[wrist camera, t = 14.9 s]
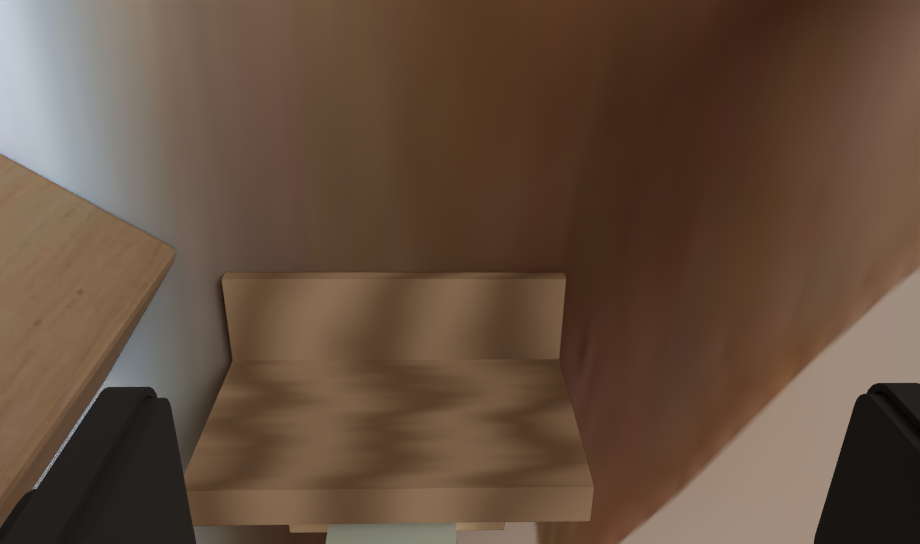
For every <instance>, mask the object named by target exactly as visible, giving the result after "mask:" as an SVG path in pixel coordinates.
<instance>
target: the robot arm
mask: <svg viewBox="0 0 920 544" xmlns="http://www.w3.org/2000/svg"><path fill="white" fill-rule="evenodd" d="M0 544H196V540H195V535H194V529H193V524H192V518H191V513H190V508H189V502H188V497H187V491H186V486H185V481H184V475H183V470H182V464H181V459H180V453H179V448H178V443H177V437H176V432H175V426H174V421H173V416H172V410H171V406H170V402H169V401H168V399H166V398H157V395H156V393H155V391H154V389H153V388H151V387H108V388H105V389H104V390H103V391H102V392H101V393H100V394H99V396H98V397H97V399H96V401H95V402H94V404H93V405H92V407H91V408H90V410H89V411H88V413H87V414H86V416H85V417H84V419H83V420H82V422H81V423H80V425H79V426H78V428H77V429H76V431H75V432H74V434H73V435H72V437H71V438H70V440H69V441H68V443H67V444H66V446H65V447H64V449H63V450H62V452H61V453H60V455H59V456H58V458H57V459H56V461H55V462H54V464H53V465H52V467H51V468H50V470H49V471H48V473H47V474H46V476H45V477H44V479H43V480H42V482H41V483H40V485H39V486H38V488H37V489H33V490H31V491H29V492H28V493H26V494H25V495H24V496H23V497H22V498H21V499H20V500H19V502H18V503H17V504H16V505H15V507H14V508H13V510H12V511H11V513H10V514H9V516H8V517H7V519H6V520H5V522H4V523H3V525H2V526H1V528H0ZM814 544H920V384H918V383H877V384H874V385H872V386H871V388H870V389H869V390H868V392H867V394H863V395H860V396H859V397H858V398H857V400H856V402H855V405H854V408H853V412H852V415H851V418H850V422H849V425H848V428H847V432H846V435H845V439H844V441H843V445H842V448H841V452H840V455H839V458H838V461H837V465H836V468H835V472H834V475H833V478H832V481H831V485H830V488H829V491H828V495H827V498H826V501H825V504H824V508H823V511H822V515H821V518H820V521H819V524H818V528H817V531H816V534H815V539H814Z"/></svg>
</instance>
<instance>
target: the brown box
mask: <svg viewBox="0 0 920 544" xmlns="http://www.w3.org/2000/svg"><path fill="white" fill-rule="evenodd" d="M222 286H223V293H224V300H225V308H226V315H227V322H228V330H229V337H230V345H231V352H232V359H233V361H232V363H231V366H230V368H229V370H228V373H227V375H226V377H225V380H224V382H223V384H222V387H221V389H220V392H219V394H218V396H217V399H216V401H215V403H214V406H213V408H212V410H211V413H210V415H209V417H208V420H207V422H206V424H205V427H204V429H203V431H202V434H201V436H200V439H199V441H198V443H197V446H196V448H195V450H194V453H193V455H192V457H191V460H190V462H189V464H188V467H187V469H186V471H185V474H184V481H185V486H186V491H187V497H188V502H189V508H190V513H191V518H192V524H193V526H224V525H289V528H290V533H302V532H328V526H329V524H389V523H456V531H458V530H460V531H461V530H504V524H505V522H554V521H590V516H591V508H592V500H593V492H594V484H593V481H592V477H591V473H590V470H589V466H588V463H587V459H586V455H585V452H584V448H583V444H582V441H581V437H580V433H579V430H578V426H577V423H576V419H575V415H574V412H573V408H572V404H571V401H570V397H569V394H568V390H567V386H566V383H565V379H564V375H563V372H562V368H561V364H560V361H559V354H560V343H561V332H562V321H563V309H564V298H565V287H566V277H565V274H564V273H478V272H225V274H224V276H223V278H222Z"/></svg>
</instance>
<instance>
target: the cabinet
mask: <svg viewBox="0 0 920 544" xmlns="http://www.w3.org/2000/svg"><path fill="white" fill-rule="evenodd" d="M326 544H457V539H456V523H389V524H329V526H328V532H327V538H326Z"/></svg>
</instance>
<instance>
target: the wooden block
mask: <svg viewBox="0 0 920 544" xmlns="http://www.w3.org/2000/svg"><path fill="white" fill-rule="evenodd" d="M174 260H175V250H174V249H173V248H172V247H171V246H170V245H168V244H166V243H164V242H162V241H161V240H159V239H157V238H155V237H153V236H151V235H150V234H148V233H146V232H144V231H142V230H140V229H138V228H137V227H135V226H133V225H131V224H129V223H127V222H126V221H124V220H122V219H120V218H118V217H116V216H114V215H113V214H111V213H109V212H107V211H105V210H103V209H102V208H100V207H98V206H96V205H94V204H92V203H90V202H89V201H87V200H85V199H83V198H81V197H79V196H78V195H76V194H74V193H72V192H70V191H68V190H66V189H65V188H63V187H61V186H59V185H57V184H55V183H54V182H52V181H50V180H48V179H46V178H44V177H42V176H41V175H39V174H37V173H35V172H33V171H31V170H30V169H28V168H26V167H24V166H22V165H20V164H18V163H17V162H15V161H13V160H11V159H9V158H7V157H6V156H4V155H2V154H0V528H1V526H2V525H3V523H4V522H5V520H6V519H7V517H8V516H9V514H10V513H11V511H12V510H13V508H14V507H15V505H16V504H17V503H18V502H19V500H20V499H21V498H22V497H23V496H24V495H25V494H26V493H28V492H29V491H31V490H32V488H33V487H34V485H35V484H36V482H37V481H38V479H39V478H40V476H41V475H42V474H43V472H44V471H45V469H46V468H47V466H48V465H49V463H50V462H51V460H52V459H53V457H54V456H55V454H56V453H57V451H58V450H59V448H60V447H61V445H62V444H63V442H64V441H65V439H66V438H67V436H68V435H69V433H70V432H71V430H72V429H73V427H74V426H75V424H76V423H77V421H78V420H79V418H80V417H81V415H82V414H83V412H84V411H85V409H86V408H87V406H88V405H89V403H90V402H91V400H92V399H93V397H94V396H95V394H96V393H97V391H98V390H99V388H100V387H101V385H102V384H103V382H104V381H105V379H106V378H107V376H108V374H109V372H110V371H111V369H112V367H113V365H114V364H115V362H116V360H117V358H118V357H119V355H120V353H121V352H122V350H123V348H124V346H125V345H126V343H127V341H128V339H129V338H130V336H131V334H132V332H133V331H134V329H135V327H136V326H137V324H138V322H139V320H140V319H141V317H142V315H143V313H144V312H145V310H146V308H147V306H148V305H149V303H150V301H151V300H152V298H153V296H154V294H155V293H156V291H157V289H158V287H159V286H160V284H161V282H162V280H163V279H164V277H165V275H166V274H167V272H168V270H169V268H170V267H171V265H172V263H173V261H174Z"/></svg>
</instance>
